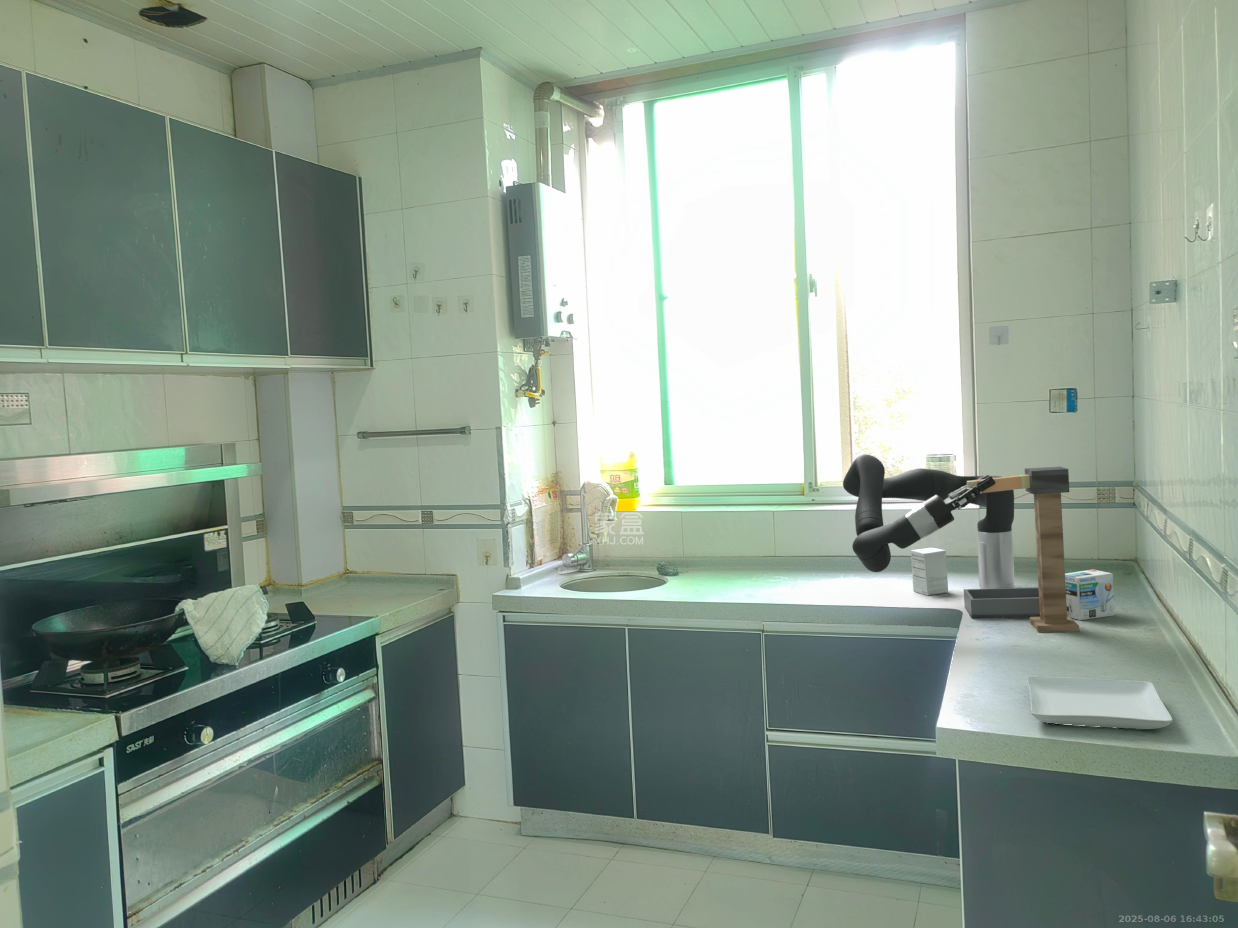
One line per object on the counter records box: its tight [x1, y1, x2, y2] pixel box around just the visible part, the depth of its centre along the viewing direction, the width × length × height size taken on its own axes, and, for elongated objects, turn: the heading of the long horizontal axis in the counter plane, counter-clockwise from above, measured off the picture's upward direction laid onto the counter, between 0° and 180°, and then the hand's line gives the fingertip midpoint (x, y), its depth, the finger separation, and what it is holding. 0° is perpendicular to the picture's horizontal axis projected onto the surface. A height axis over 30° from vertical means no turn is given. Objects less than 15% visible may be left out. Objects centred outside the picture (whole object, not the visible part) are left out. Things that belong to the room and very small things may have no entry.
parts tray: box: [963, 586, 1040, 620], centre depth 235 cm, size 13×20×5 cm, turn 77°
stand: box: [1024, 466, 1080, 633], centre depth 216 cm, size 9×9×38 cm
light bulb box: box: [1065, 569, 1115, 621], centre depth 225 cm, size 11×7×11 cm, turn 105°
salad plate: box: [1025, 675, 1173, 730], centre depth 160 cm, size 21×21×3 cm
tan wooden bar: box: [966, 474, 1030, 494], centre depth 218 cm, size 3×14×3 cm, turn 77°
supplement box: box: [910, 547, 949, 596], centre depth 265 cm, size 7×7×13 cm
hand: (991, 478), depth 218 cm, fingers closed on tan wooden bar, 3 cm apart
